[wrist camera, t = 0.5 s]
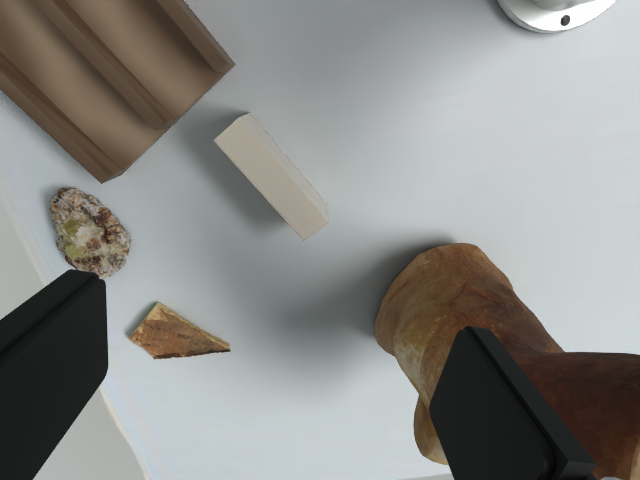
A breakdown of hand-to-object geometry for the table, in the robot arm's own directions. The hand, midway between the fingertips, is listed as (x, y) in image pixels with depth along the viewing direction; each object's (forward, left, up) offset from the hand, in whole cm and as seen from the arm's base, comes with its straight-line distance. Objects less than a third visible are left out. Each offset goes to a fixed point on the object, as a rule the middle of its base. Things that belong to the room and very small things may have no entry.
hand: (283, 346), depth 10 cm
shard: (+26, +6, -31) cm, 41 cm away
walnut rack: (+8, -20, -30) cm, 37 cm away
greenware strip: (+3, -1, -30) cm, 30 cm away
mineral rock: (+24, -8, -30) cm, 40 cm away
